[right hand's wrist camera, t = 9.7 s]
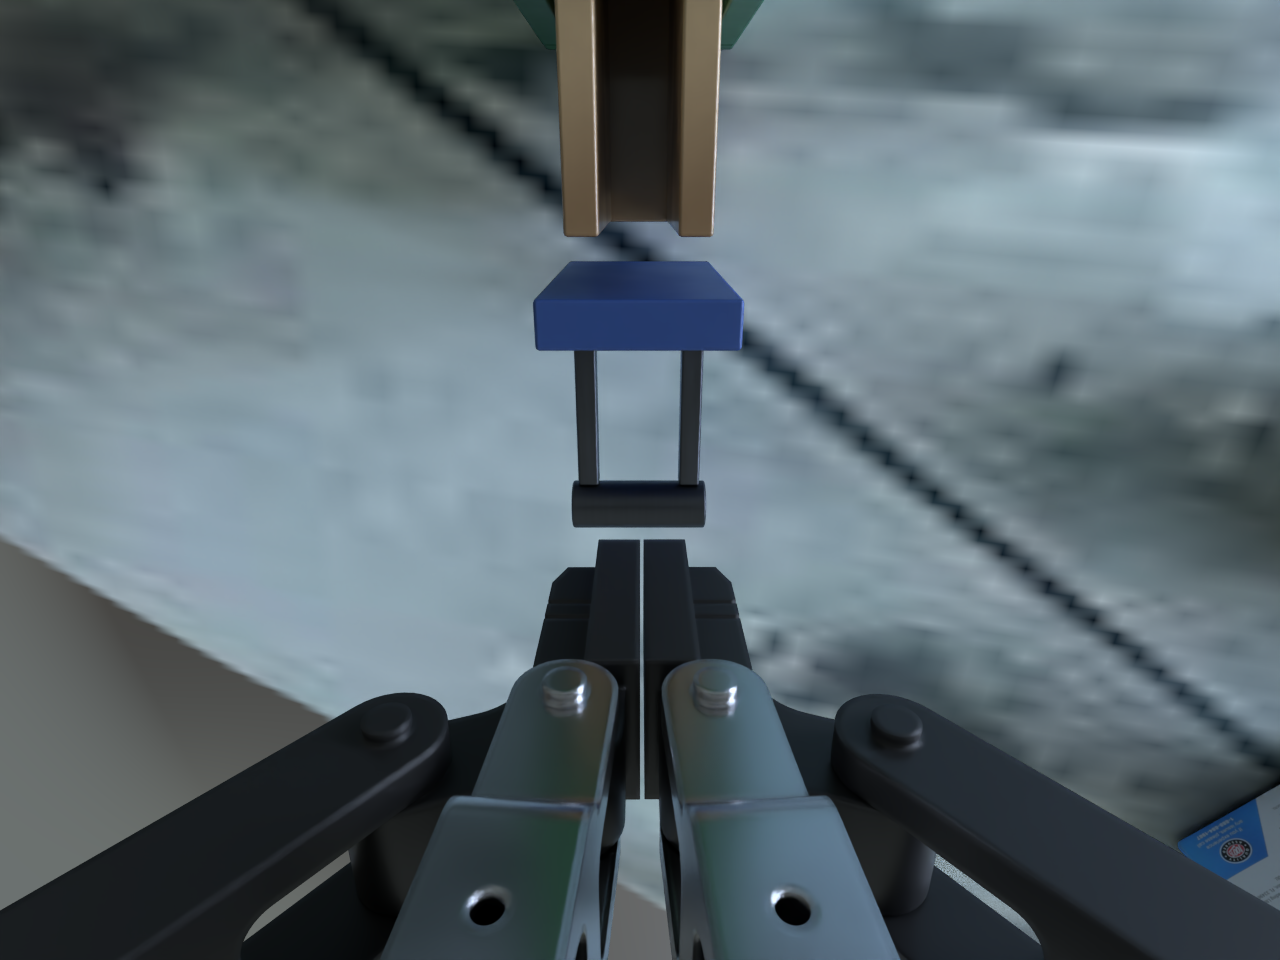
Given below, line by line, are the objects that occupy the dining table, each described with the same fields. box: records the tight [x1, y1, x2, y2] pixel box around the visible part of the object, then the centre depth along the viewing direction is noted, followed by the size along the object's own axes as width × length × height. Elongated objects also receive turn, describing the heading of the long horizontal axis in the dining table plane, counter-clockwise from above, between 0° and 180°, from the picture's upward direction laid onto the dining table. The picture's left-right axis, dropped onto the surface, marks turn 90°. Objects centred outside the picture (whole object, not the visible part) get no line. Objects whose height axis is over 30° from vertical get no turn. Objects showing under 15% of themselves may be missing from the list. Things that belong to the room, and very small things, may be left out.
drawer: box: [533, 0, 744, 527], centre depth 18 cm, size 25×5×9 cm, turn 0°
